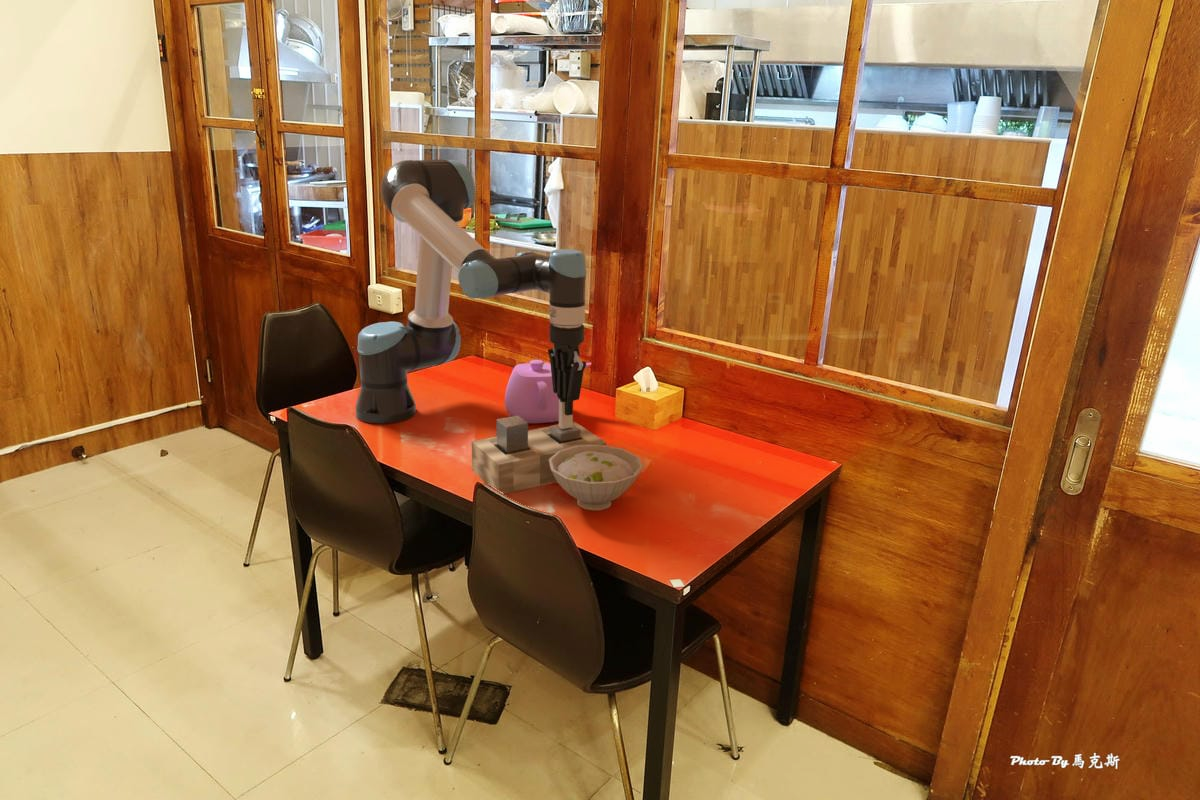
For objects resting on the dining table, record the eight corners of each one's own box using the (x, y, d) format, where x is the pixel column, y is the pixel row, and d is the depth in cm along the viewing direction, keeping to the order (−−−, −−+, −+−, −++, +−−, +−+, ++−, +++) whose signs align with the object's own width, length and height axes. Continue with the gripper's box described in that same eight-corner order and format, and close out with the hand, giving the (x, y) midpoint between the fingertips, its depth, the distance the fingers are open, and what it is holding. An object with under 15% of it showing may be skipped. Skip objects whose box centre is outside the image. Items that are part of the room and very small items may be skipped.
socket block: (472, 470, 177) (471, 441, 174) (574, 449, 190) (574, 421, 187) (498, 495, 165) (498, 464, 163) (605, 471, 178) (606, 442, 176)
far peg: (549, 452, 181) (550, 425, 178) (568, 448, 183) (569, 422, 181) (560, 460, 177) (560, 433, 174) (579, 456, 179) (580, 429, 177)
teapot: (511, 435, 197) (510, 377, 192) (501, 406, 216) (500, 352, 211) (600, 430, 202) (602, 373, 197) (583, 402, 221) (584, 349, 216)
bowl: (567, 532, 152) (568, 484, 148) (534, 489, 168) (534, 446, 165) (657, 515, 159) (660, 470, 156) (617, 476, 176) (619, 434, 172)
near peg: (496, 447, 173) (496, 419, 171) (517, 443, 175) (517, 415, 173) (506, 455, 169) (506, 426, 167) (527, 451, 171) (527, 423, 169)
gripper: (537, 318, 173) (537, 420, 181) (566, 332, 163) (565, 439, 170) (567, 315, 177) (566, 415, 185) (597, 328, 166) (595, 433, 174)
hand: (565, 426), depth 178 cm, fingers closed
